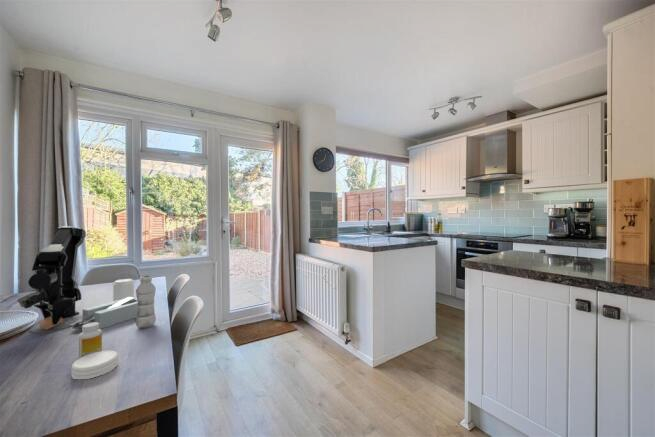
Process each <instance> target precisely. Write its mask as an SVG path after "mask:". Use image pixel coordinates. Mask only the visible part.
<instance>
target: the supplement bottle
mask: <svg viewBox="0 0 655 437" xmlns="http://www.w3.org/2000/svg"><path fill="white" fill-rule="evenodd" d="M98 328H99V323H98V322H93V323H88V324H85V325H83V326H82V328H81V331H82V332H80V333H79V335H78V359H80V358H82V357H84V356H86V355H89V354H92V353H95V352H100V351H103V350H102V349H103V347H102V340H103V337H102V335H103V331H102V329H98Z"/></svg>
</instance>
